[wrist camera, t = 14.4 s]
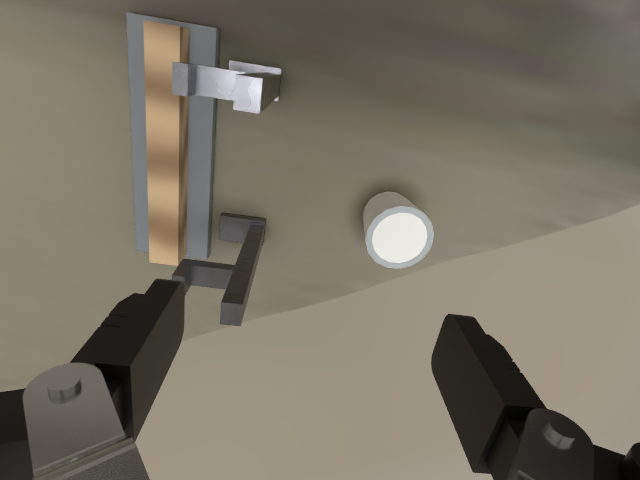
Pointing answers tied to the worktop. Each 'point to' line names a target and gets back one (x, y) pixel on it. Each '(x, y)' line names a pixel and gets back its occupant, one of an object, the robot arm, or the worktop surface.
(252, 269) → the charcoal rack
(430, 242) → the beige white-topped cylinder
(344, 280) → the worktop surface
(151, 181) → the oak rail
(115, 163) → the worktop surface
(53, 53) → the worktop surface
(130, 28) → the slate mat
